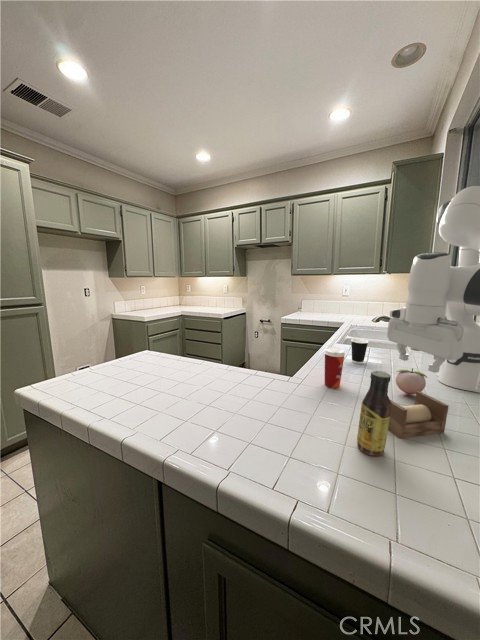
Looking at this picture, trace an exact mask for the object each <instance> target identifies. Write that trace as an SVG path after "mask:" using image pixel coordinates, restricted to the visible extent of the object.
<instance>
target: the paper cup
mask: <svg viewBox="0 0 480 640" xmlns="http://www.w3.org/2000/svg"><path fill="white" fill-rule="evenodd" d="M323 353H324V385H326V386H325V387H327V388H331V389H338V388H340V386H341V380H342V376H343V375H342V373H343V368H344V363H345V362H344V361H345V356H346V353H345V350H343V349H340V348H336V347H335V348H334V347H328V348H325V350H324V352H323Z"/></svg>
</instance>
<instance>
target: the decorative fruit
mask: <svg viewBox="0 0 480 640" xmlns="http://www.w3.org/2000/svg"><path fill="white" fill-rule="evenodd" d="M396 373H397V374H396V376H395V383H396V386H397V388H398V389H399V390H400V391H401V392H403V393H405V394H407V395H409V396H410V395H416V392H417V391H420V392H422V393H423V391H424V390H425V388H426V384H427V383H426V378H428V376H427V375H426V374H424V373H423V372H421V371H415V370H414V368H411V370H408V369H404V368H403V369H399V370H397V371H396Z"/></svg>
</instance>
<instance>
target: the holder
mask: <svg viewBox="0 0 480 640" xmlns="http://www.w3.org/2000/svg"><path fill="white" fill-rule="evenodd" d="M390 401H391V410H390V419H389V426H388V431H389V432H390V433H391V434H393V435H395V436H396V437H397V438H398V439H400V440H401V439H408V438H414V437H421V436H429V435H435V434H444V433H445V431H446V425H447V417H448V412H449V404H446V403H444V402H442V401H440V400H438V399H436V398H434V397H432V396H430V395H429V394H426V393H424V392H423V391H422V392H420V391H417V392H416V394H415V398H414V405H419V404H422V405H425V406H426V407H427V408H428V409H429V410H430V412H431V420H430V422H423V423H415V424H407V425H405V424H406V417H407V409H405V408H403V407H402V406H403V405H402V406H401V405H400V404H398V403H397V402H396V401H394V400H391V399H390Z"/></svg>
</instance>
